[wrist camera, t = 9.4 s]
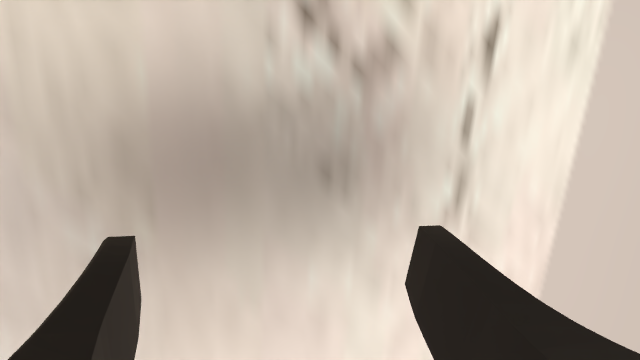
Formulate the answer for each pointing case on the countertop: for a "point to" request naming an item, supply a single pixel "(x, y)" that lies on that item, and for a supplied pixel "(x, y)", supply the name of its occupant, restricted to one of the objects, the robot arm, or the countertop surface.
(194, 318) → the countertop surface
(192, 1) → the countertop surface
